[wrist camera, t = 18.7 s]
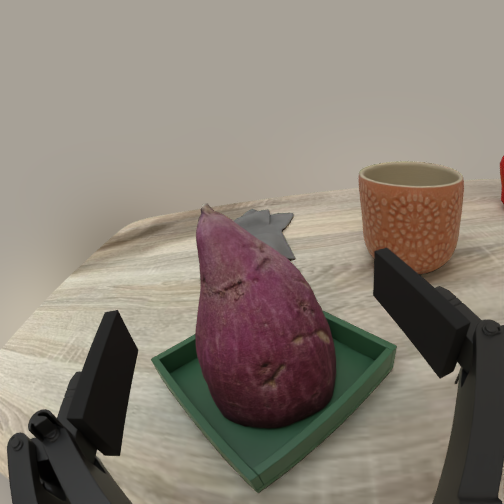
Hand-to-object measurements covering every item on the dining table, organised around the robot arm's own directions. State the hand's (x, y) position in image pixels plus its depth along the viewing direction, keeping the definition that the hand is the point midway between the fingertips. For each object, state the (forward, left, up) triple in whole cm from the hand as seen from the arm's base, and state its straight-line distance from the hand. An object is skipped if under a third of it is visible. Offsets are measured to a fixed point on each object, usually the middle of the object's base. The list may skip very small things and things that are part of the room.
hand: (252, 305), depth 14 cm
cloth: (+18, +26, -11) cm, 33 cm away
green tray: (+2, +3, -10) cm, 11 cm away
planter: (+25, +3, -11) cm, 27 cm away
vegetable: (+2, +3, -10) cm, 11 cm away
